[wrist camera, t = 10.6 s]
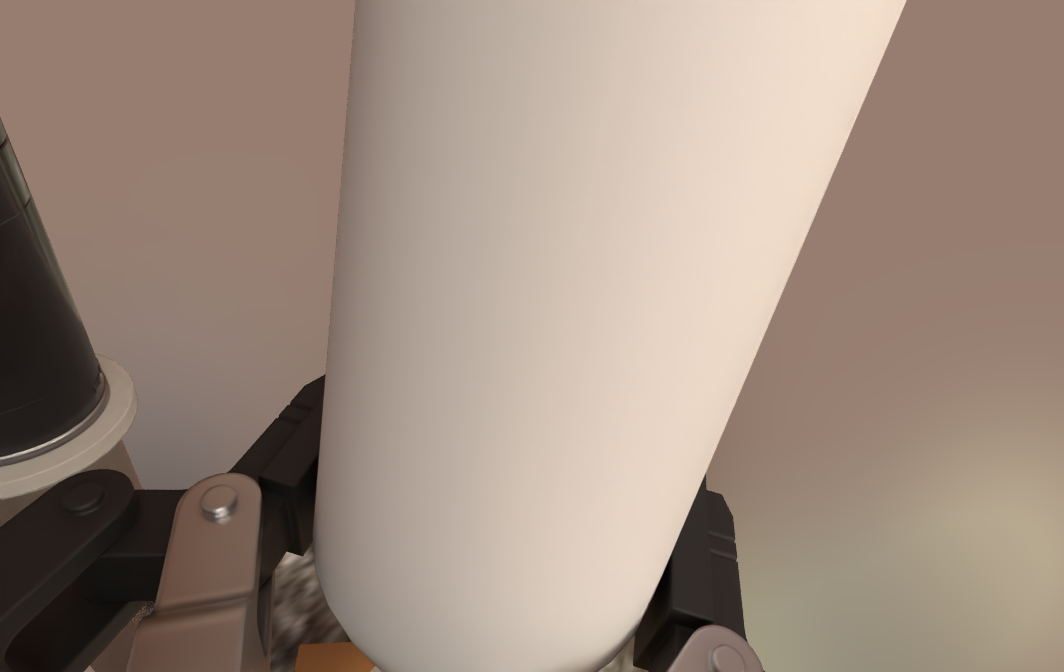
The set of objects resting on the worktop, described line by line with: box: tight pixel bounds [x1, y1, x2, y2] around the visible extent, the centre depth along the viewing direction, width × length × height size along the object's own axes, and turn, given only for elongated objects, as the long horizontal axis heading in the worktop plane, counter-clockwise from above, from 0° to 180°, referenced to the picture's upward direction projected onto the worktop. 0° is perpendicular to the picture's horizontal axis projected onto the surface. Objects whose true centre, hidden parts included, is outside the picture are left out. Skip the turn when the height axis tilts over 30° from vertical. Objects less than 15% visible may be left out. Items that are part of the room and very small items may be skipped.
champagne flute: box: [313, 0, 906, 672], centre depth 11 cm, size 7×7×24 cm
